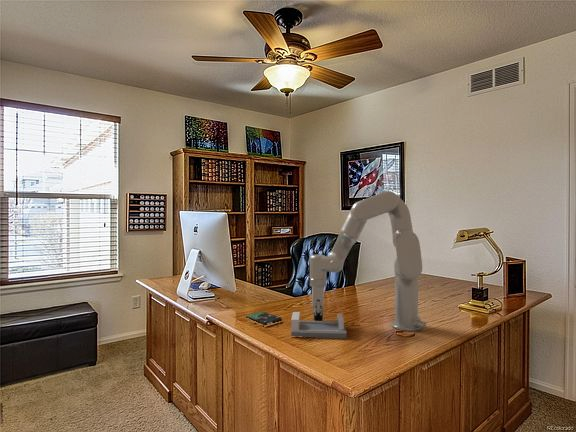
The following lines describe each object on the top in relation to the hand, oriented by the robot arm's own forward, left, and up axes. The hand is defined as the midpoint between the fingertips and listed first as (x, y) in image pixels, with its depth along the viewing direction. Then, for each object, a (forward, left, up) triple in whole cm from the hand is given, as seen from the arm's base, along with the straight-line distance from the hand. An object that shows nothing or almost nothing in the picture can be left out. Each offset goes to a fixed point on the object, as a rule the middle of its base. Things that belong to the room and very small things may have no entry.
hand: (318, 321), depth 163 cm
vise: (-9, +9, -1) cm, 13 cm away
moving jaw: (-16, +3, +1) cm, 16 cm away
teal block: (0, 0, -1) cm, 1 cm away
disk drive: (+19, +17, -2) cm, 25 cm away
